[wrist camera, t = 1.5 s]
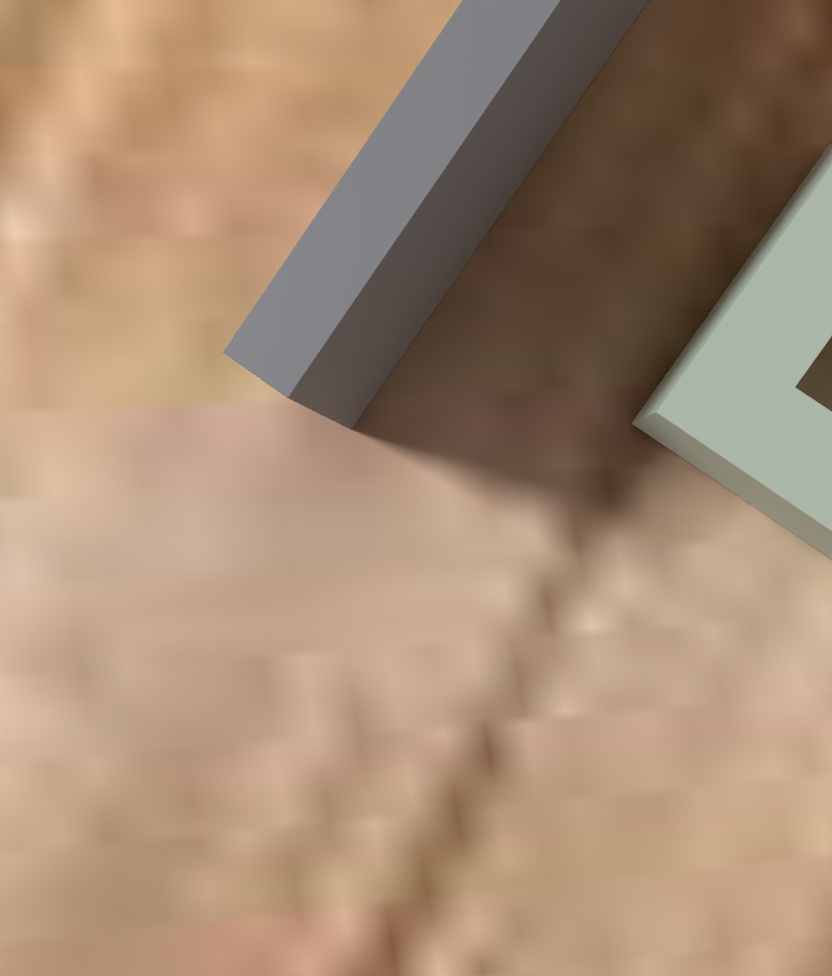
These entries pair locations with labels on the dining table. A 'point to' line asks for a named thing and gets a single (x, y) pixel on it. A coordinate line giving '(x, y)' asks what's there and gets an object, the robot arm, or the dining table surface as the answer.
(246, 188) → the dining table surface
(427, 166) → the wall
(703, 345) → the block
